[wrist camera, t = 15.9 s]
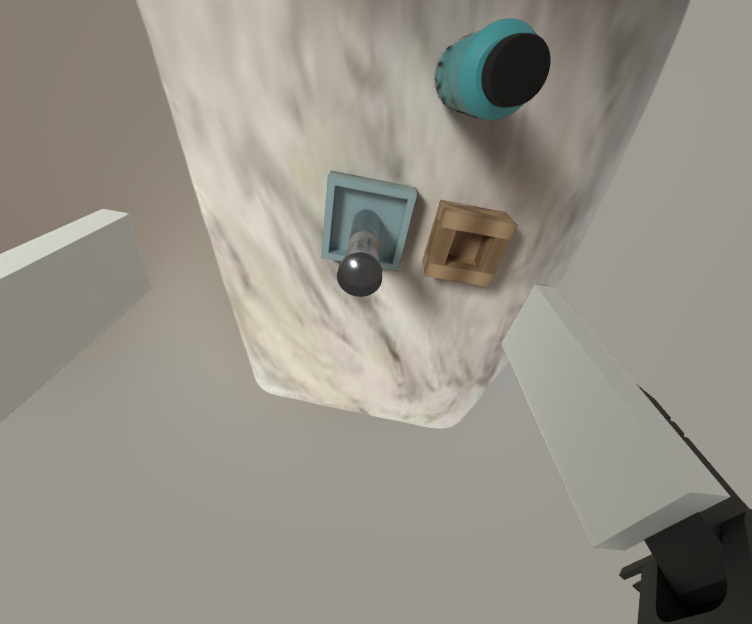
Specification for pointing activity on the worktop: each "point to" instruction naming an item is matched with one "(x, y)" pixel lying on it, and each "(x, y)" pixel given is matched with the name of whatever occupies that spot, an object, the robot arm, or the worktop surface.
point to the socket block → (467, 243)
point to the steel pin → (362, 256)
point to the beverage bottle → (493, 70)
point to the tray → (369, 194)
